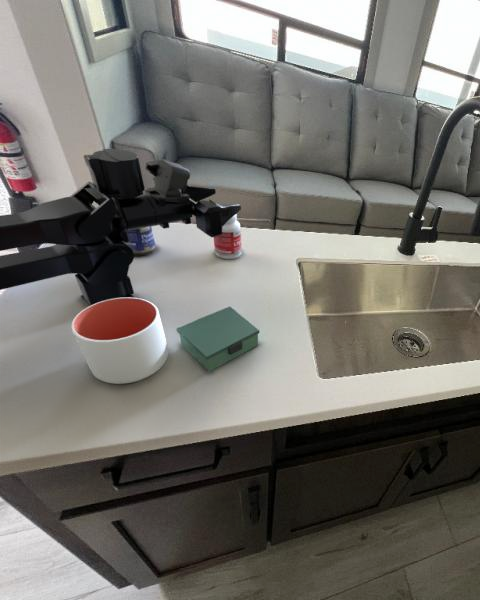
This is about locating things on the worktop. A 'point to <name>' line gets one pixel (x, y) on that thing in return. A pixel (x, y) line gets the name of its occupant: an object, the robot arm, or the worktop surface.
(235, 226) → the pill bottle
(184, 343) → the lunchbox
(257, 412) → the worktop surface
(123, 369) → the cup
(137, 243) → the pill bottle
